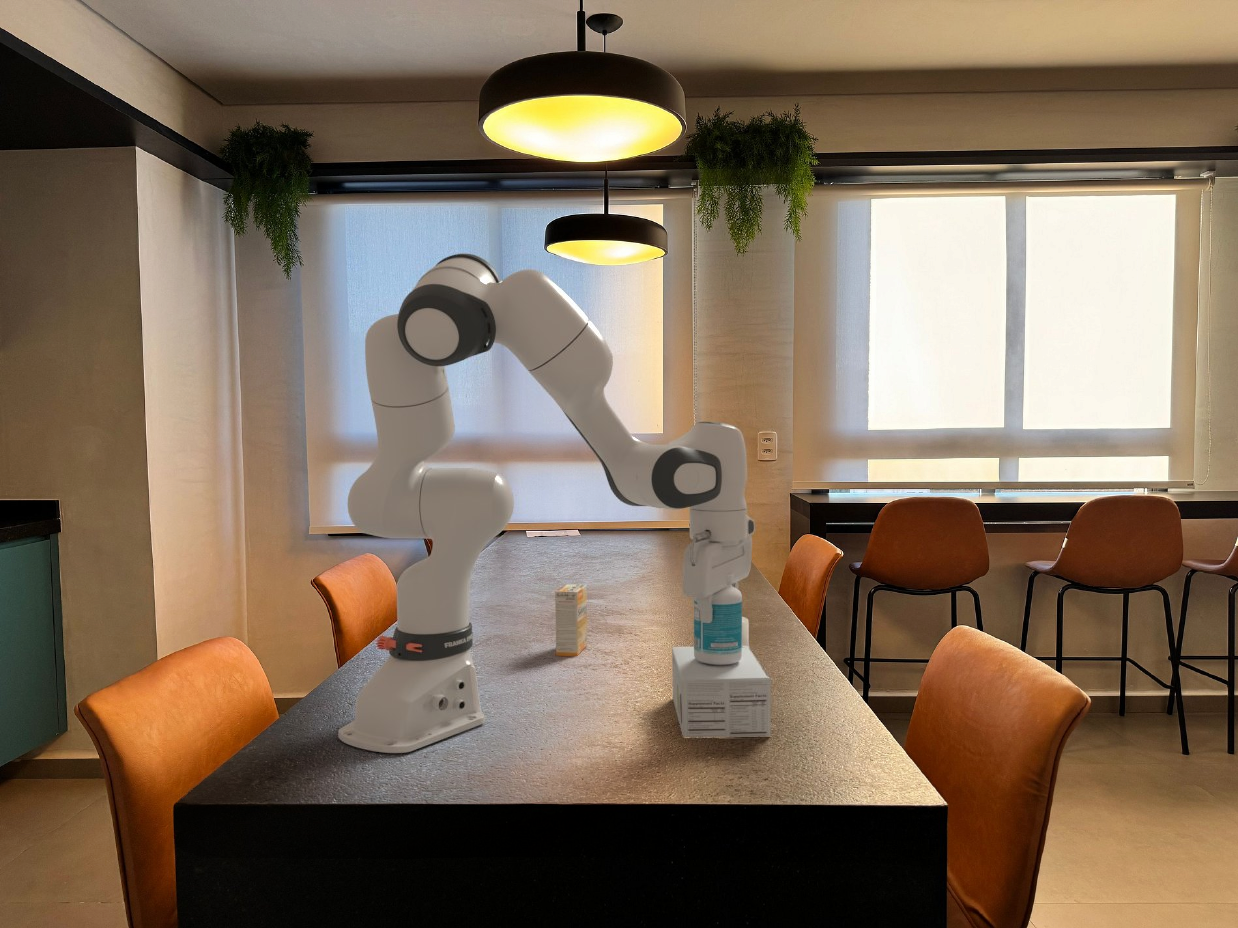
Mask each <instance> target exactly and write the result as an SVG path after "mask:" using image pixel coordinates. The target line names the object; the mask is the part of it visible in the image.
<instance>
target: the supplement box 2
mask: <svg viewBox="0 0 1238 928" xmlns="http://www.w3.org/2000/svg"><path fill="white" fill-rule="evenodd" d="M671 650H672V652H671V653H672V654H671V655H672V657H671V658H672V701H673V704H674V709H675V712H676V717H677V720H678V725H679V724H680V725H679V728H681V729H680V732H682V733H681V736H682V735H683V736H682V738H683V737H691V738H696V737H698V738H701V737H705V738H707V737H711V738H713V737H754V736H755V737H758V736H760V737H762V736H765V737H766V736H767V737H769V736H770V737H771V711H772V710H771V705H772V704H771V702H772V701H771V700H772V699H771V694H772V693H771V689H772V687H771V686H772V685H771V684H772V683H771V678H770V676H769V675H768V673H767V672H766V670H765V668H764V667H763V666H762V665H761V663H760V662H759V660H758V659H757V657H756V656H755V655H754V653H753V652H752V650H751V647H750V645H749V646H742V657H741V659H740V660H739V661H738V662H736V663H733V664H726V665H715V664H707V663H703V662H700V661H698V660H697V659H696V658H695V657H694V646H673V647H671Z"/></svg>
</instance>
